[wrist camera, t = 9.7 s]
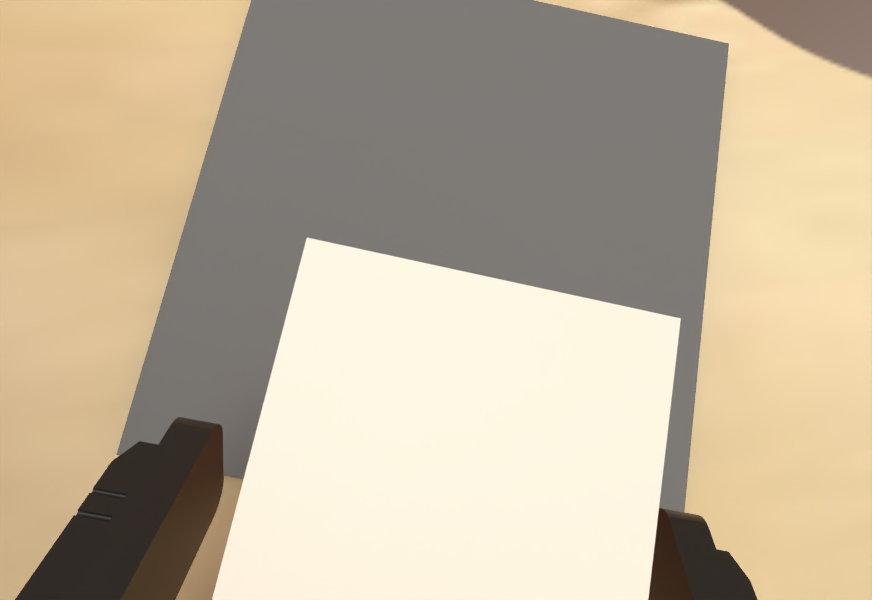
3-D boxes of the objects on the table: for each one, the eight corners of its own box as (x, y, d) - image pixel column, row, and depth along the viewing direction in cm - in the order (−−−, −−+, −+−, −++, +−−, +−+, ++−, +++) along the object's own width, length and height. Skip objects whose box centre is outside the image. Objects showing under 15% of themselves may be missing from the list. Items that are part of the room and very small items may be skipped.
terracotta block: (324, 504, 18) (196, 658, 6) (358, 355, 19) (306, 237, 7) (473, 534, 18) (632, 742, 6) (499, 385, 19) (680, 317, 7)
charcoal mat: (125, 453, 18) (116, 454, 18) (271, -46, 22) (268, -59, 21) (670, 557, 19) (679, 561, 18) (720, 53, 23) (728, 43, 22)
